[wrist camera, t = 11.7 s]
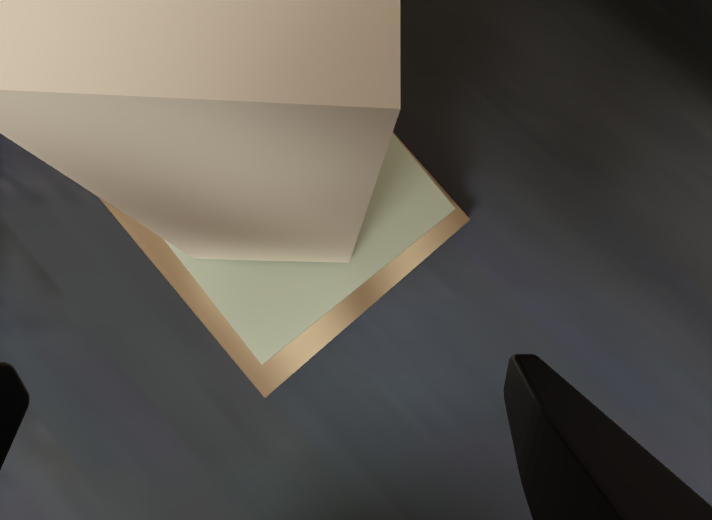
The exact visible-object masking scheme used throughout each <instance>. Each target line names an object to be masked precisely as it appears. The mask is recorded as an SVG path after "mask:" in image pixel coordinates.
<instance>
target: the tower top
mask: <svg viewBox="0 0 712 520" xmlns="http://www.w3.org/2000/svg"><path fill="white" fill-rule="evenodd" d="M455 209H456V208H455V207H454V206H453V205H452V204H451V202H450V201H449V200H448V199H447V198H446V196H445V195H444V194H443V193H442V192H441V190H440V189H439V188H438V187H437V186H436V184H435V183H434V182H433V181H432V180H431V178H430V177H429V176H428V175H427V174H426V172H425V171H424V170H423V169H422V168H421V166H420V165H419V164H418V163H417V162H416V160H415V159H414V158H413V157H412V155H411V154H410V153H409V152H408V151H407V149H406V148H405V147H404V146H403V145H402V143H401V142H400V141H399V140H398V139H397V137H396V136H395V135H394V134H393V133H392V136H391V139H390V142H389V145H388V148H387V151H386V154H385V157H384V160H383V163H382V166H381V169H380V172H379V175H378V178H377V181H376V184H375V187H374V190H373V193H372V196H371V199H370V202H369V205H368V208H367V211H366V214H365V217H364V220H363V223H362V226H361V229H360V232H359V235H358V238H357V241H356V244H355V247H354V250H353V253H352V256H351V259H350V262H349V263H338V262H299V261H260V260H221V259H194V258H192V257H191V256H189V255H187V254H186V253H184V252H183V251H181V250H180V249H178V248H177V247H175V246H174V245H172V244H171V243H169V242H167V241H166V240H164V241H165V242H166V243H167V244H168V246H169V247H170V248H171V249H172V251H173V252H174V253H175V255H176V256H177V257H178V258H179V260H180V261H181V262H182V264H183V265H184V266H185V267H186V269H187V270H188V271H189V273H190V274H191V275H192V276H193V278H194V279H195V280H196V281H197V283H198V284H199V285H200V287H201V288H202V289H203V290H204V292H205V293H206V294H207V296H208V297H209V298H210V299H211V301H212V302H213V303H214V305H215V306H216V307H217V308H218V310H219V311H220V312H221V313H222V315H223V316H224V317H225V319H226V320H227V321H228V322H229V324H230V325H231V326H232V328H233V329H234V330H235V331H236V333H237V334H238V335H239V337H240V338H241V339H242V340H243V342H244V343H245V344H246V345H247V347H248V348H249V349H250V351H251V352H252V353H253V354H254V356H255V357H256V358H257V360H258V361H259V362H260V363H261V365H262V364H264V363H265V362H267V361H268V360H269V359H271V358H272V357H273V356H274V355H275V354H277V353H278V352H279V351H280V350H282V349H283V348H284V347H285V346H287V345H288V344H289V343H290V342H292V341H293V340H294V339H295V338H297V337H298V336H299V335H300V334H302V333H303V332H304V331H305V330H306V329H308V328H309V327H310V326H311V325H313V324H314V323H315V322H316V321H318V320H319V319H320V318H321V317H323V316H324V315H325V314H326V313H328V312H329V311H330V310H331V309H333V308H334V307H335V306H336V305H337V304H339V303H340V302H341V301H342V300H344V299H345V298H346V297H347V296H349V295H350V294H351V293H352V292H354V291H355V290H356V289H357V288H359V287H360V286H361V285H362V284H364V283H365V282H366V281H367V280H368V279H370V278H371V277H372V276H373V275H375V274H376V273H377V272H378V271H380V270H381V269H382V268H383V267H385V266H386V265H387V264H388V263H390V262H391V261H392V260H393V259H395V258H396V257H397V256H398V255H399V254H401V253H402V252H403V251H404V250H406V249H407V248H408V247H409V246H411V245H412V244H413V243H414V242H416V241H417V240H418V239H419V238H421V237H422V236H423V235H424V234H426V233H427V232H428V231H429V230H430V229H432V228H433V227H434V226H435V225H437V224H438V223H439V222H440V221H442V220H443V219H444V218H445V217H446V216H448V215H449V214H450V213H451V212H452V211H453V210H455Z"/></svg>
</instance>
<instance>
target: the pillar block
mask: <svg viewBox="0 0 712 520" xmlns="http://www.w3.org/2000/svg"><path fill="white" fill-rule="evenodd" d="M400 109H401V88H400V0H0V133H1V134H3V135H4V136H6V137H7V138H9V139H10V140H12V141H13V142H15V143H16V144H18V145H20V146H21V147H23V148H24V149H26V150H27V151H29V152H30V153H32V154H33V155H35V156H36V157H38V158H40V159H41V160H43V161H44V162H46V163H47V164H49V165H50V166H52V167H53V168H55V169H56V170H58V171H60V172H61V173H63V174H64V175H66V176H67V177H69V178H70V179H72V180H73V181H75V182H77V183H78V184H80V185H81V186H83V187H84V188H86V189H87V190H89V191H90V192H92V193H93V194H95V195H97V196H98V197H100V198H101V199H103V200H104V201H106V202H107V203H109V204H110V205H112V206H113V207H115V208H117V209H118V210H120V211H121V212H123V213H124V214H126V215H127V216H129V217H130V218H132V219H134V220H135V221H137V222H138V223H140V224H141V225H143V226H144V227H146V228H147V229H149V230H150V231H152V232H154V233H155V234H157V235H158V236H160V237H161V238H163V239H164V240H166V241H167V242H169V243H171V244H172V245H174V246H175V247H177V248H178V249H180V250H181V251H183V252H184V253H186V254H187V255H189V256H191V257H192V258H194V259H221V260H260V261H299V262H338V263H349V262H350V259H351V256H352V253H353V250H354V247H355V244H356V241H357V238H358V235H359V232H360V229H361V226H362V223H363V220H364V217H365V214H366V211H367V208H368V205H369V202H370V199H371V196H372V193H373V190H374V187H375V184H376V181H377V178H378V175H379V172H380V169H381V166H382V163H383V160H384V157H385V154H386V151H387V148H388V145H389V142H390V139H391V136H392V133H393V130H394V127H395V124H396V121H397V118H398V115H399V112H400Z"/></svg>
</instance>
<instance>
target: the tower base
mask: <svg viewBox="0 0 712 520" xmlns="http://www.w3.org/2000/svg"><path fill="white" fill-rule="evenodd" d="M393 134H394V132H393ZM394 135H395V134H394ZM395 136H396V135H395ZM396 137H397V136H396ZM397 139H398V140H399V141H400V142H401V140H400V139H399V138H398V137H397ZM401 143H402V142H401ZM402 145H403V146H404V147H405V148H406V149H407V151H408V152H409V153H410V154H411V155H412V157H413V158H414V159H415V160H416V162H417V163H418V164H419V165H420V166H421V168H422V169H423V170H424V171H425V172H426V174H427V175H428V176H429V177H430V178H431V180H432V181H433V182H434V183H435V184H436V186H437V187H438V188H439V189H440V190H441V192H442V193H443V194H444V195H445V196H446V198H447V199H448V200H449V201H450V202H451V204H452V205H453V206H454V207H455V208H456V209H455V210H453V211H452V212H451V213H450V214H449V215H448V216H446V217H445V218H444V219H443V220H442V221H440V222H439V223H438V224H437V225H435V226H434V227H433V228H432V229H430V230H429V231H428V232H427V233H426V234H424V235H423V236H422V237H421V238H419V239H418V240H417V241H416V242H414V243H413V244H412V245H411V246H409V247H408V248H407V249H406V250H404V251H403V252H402V253H401V254H399V255H398V256H397V257H396V258H395V259H393V260H392V261H391V262H390V263H388V264H387V265H386V266H385V267H383V268H382V269H381V270H380V271H378V272H377V273H376V274H375V275H373V276H372V277H371V278H370V279H368V280H367V281H366V282H365V283H364V284H362V285H361V286H360V287H359V288H357V289H356V290H355V291H354V292H352V293H351V294H350V295H349V296H347V297H346V298H345V299H344V300H342V301H341V302H340V303H339V304H337V305H336V306H335V307H334V308H333V309H331V310H330V311H329V312H328V313H326V314H325V315H324V316H323V317H321V318H320V319H319V320H318V321H316V322H315V323H314V324H313V325H311V326H310V327H309V328H308V329H306V330H305V331H304V332H303V333H302V334H300V335H299V336H298V337H297V338H295V339H294V340H293V341H292V342H290V343H289V344H288V345H287V346H285V347H284V348H283V349H282V350H280V351H279V352H278V353H277V354H275V355H274V356H273V357H272V358H271V359H269V360H268V361H267V362H265V363H264V364H262V365H261V363H260V362H259V361H258V360H257V358H256V357H255V356H254V354H253V353H252V352H251V351H250V349H249V348H248V347H247V345H246V344H245V343H244V342H243V340H242V339H241V338H240V337H239V335H238V334H237V333H236V331H235V330H234V329H233V328H232V326H231V325H230V324H229V322H228V321H227V320H226V319H225V317H224V316H223V315H222V313H221V312H220V311H219V310H218V308H217V307H216V306H215V305H214V303H213V302H212V301H211V299H210V298H209V297H208V296H207V294H206V293H205V292H204V290H203V289H202V288H201V287H200V285H199V284H198V283H197V281H196V280H195V279H194V278H193V276H192V275H191V274H190V273H189V271H188V270H187V269H186V267H185V266H184V265H183V264H182V262H181V261H180V260H179V258H178V257H177V256H176V255H175V253H174V252H173V251H172V249H171V248H170V247H169V246H168V244H167V243H166V242H165V241H164V239H163V238H161V237H160V236H158V235H157V234H155V233H154V232H152V231H150V230H149V229H147V228H146V227H144V226H143V225H141V224H140V223H138V222H137V221H135V220H134V219H132V218H130V217H129V216H127V215H126V214H124V213H123V212H121V211H120V210H118V209H117V208H115V207H113V206H112V205H110V204H109V203H107V202H106V201H104V200H103V199H101V198H100V197H99V198H100V199H101V201H102V202H103V203H104V204H105V205H106V207H107V208H108V209H109V210H110V211H111V213H112V214H113V215H114V216H115V217H116V219H117V220H118V221H119V222H120V224H121V225H122V226H123V227H124V228H125V230H126V231H127V232H128V233H129V234H130V236H131V237H132V238H133V239H134V240H135V242H136V243H137V244H138V245H139V246H140V248H141V249H142V250H143V251H144V253H145V254H146V255H147V256H148V257H149V259H150V260H151V261H152V262H153V263H154V265H155V266H156V267H157V268H158V269H159V271H160V272H161V273H162V274H163V275H164V277H165V278H166V279H167V280H168V282H169V283H170V284H171V285H172V286H173V288H174V289H175V290H176V291H177V292H178V294H179V295H180V296H181V297H182V298H183V300H184V301H185V302H186V303H187V304H188V306H189V307H190V308H191V309H192V311H193V312H194V313H195V314H196V315H197V317H198V318H199V319H200V320H201V321H202V323H203V324H204V325H205V326H206V327H207V329H208V330H209V331H210V332H211V333H212V335H213V336H214V337H215V338H216V340H217V341H218V342H219V343H220V344H221V346H222V347H223V348H224V349H225V350H226V352H227V353H228V354H229V355H230V356H231V358H232V359H233V360H234V361H235V362H236V364H237V365H238V366H239V367H240V369H241V370H242V371H243V372H244V373H245V375H246V376H247V377H248V378H249V379H250V381H251V382H252V383H253V384H254V385H255V387H256V388H257V389H258V390H259V391H260V393H261V394H262V395H263V396H264V398H265V397H266V396H268V395H269V394H270V393H271V392H272V391H273V390H275V389H276V388H277V387H278V386H279V385H280V384H281V383H283V382H284V381H285V380H286V379H287V378H288V377H289V376H291V375H292V374H293V373H294V372H295V371H296V370H298V369H299V368H300V367H301V366H302V365H303V364H304V363H306V362H307V361H308V360H309V359H310V358H311V357H312V356H314V355H315V354H316V353H317V352H318V351H319V350H321V349H322V348H323V347H324V346H325V345H326V344H327V343H329V342H330V341H331V340H332V339H333V338H334V337H336V336H337V335H338V334H339V333H340V332H341V331H342V330H344V329H345V328H346V327H347V326H348V325H349V324H350V323H352V322H353V321H354V320H355V319H356V318H357V317H359V316H360V315H361V314H362V313H363V312H364V311H365V310H367V309H368V308H369V307H370V306H371V305H372V304H374V303H375V302H376V301H377V300H378V299H379V298H380V297H382V296H383V295H384V294H385V293H386V292H387V291H388V290H390V289H391V288H392V287H393V286H394V285H395V284H397V283H398V282H399V281H400V280H401V279H402V278H403V277H405V276H406V275H407V274H408V273H409V272H410V271H412V270H413V269H414V268H415V267H416V266H417V265H418V264H420V263H421V262H422V261H423V260H424V259H425V258H426V257H428V256H429V255H430V254H431V253H432V252H433V251H435V250H436V249H437V248H438V247H439V246H440V245H441V244H443V243H444V242H445V241H446V240H447V239H448V238H449V237H451V236H452V235H453V234H454V233H455V232H456V231H458V230H459V229H460V228H461V227H462V226H463V225H464V224H466V223H467V222H468V221H469V220H470V219H469V218H468V217H467V215H466V214H465V213H464V212H463V211H462V210H461V209H460V208H459V206H458V205H457V204H456V203H455V202H454V201H453V200H452V198H451V197H450V196H449V195H448V194H447V193H446V192H445V190H444V189H443V188H442V187H441V186H440V185H439V184H438V183H437V181H436V180H435V179H434V178H433V177H432V176H431V175H430V173H429V172H428V171H427V170H426V169H425V168H424V167H423V165H422V164H421V163H420V162H419V161H418V160H417V159H416V158H415V156H414V155H413V154H412V153H411V152H410V151H409V150H408V148H407V147H406V146H405V145H404V144H403V143H402Z"/></svg>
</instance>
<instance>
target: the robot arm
mask: <svg viewBox="0 0 712 520" xmlns="http://www.w3.org/2000/svg"><path fill="white" fill-rule="evenodd" d="M504 400H505V405H506V410H507V415H508V420H509V425H510V430H511V435H512V440H513V444H514V449H515V454H516V459H517V464H518V469H519V473H520V478H521V482H522V486H523V489H524V493H525V496H526V499H527V503H528V506H529V509H530V512H531V515H532V518H533V520H712V506H711V505H709V504H708V503H707V502H706V501H705V500H704V499H702V498H701V497H700V496H699V495H698V494H697V493H695V492H694V491H693V490H692V489H691V488H690V487H689V486H687V485H686V484H685V483H684V482H683V481H682V480H680V479H679V478H678V477H677V476H676V475H675V474H673V473H672V472H671V471H670V470H669V469H668V468H667V467H665V466H664V465H663V464H662V463H661V462H660V461H658V460H657V459H656V458H655V457H654V456H653V455H651V454H650V453H649V452H648V451H647V450H646V449H644V448H643V447H642V446H641V445H640V444H639V443H638V442H636V441H635V440H634V439H633V438H632V437H631V436H629V435H628V434H627V433H626V432H625V431H624V430H622V429H621V428H620V427H619V426H618V425H617V424H616V423H614V422H613V421H612V420H611V419H610V418H609V417H607V416H606V415H605V414H604V413H603V412H602V411H600V410H599V409H598V408H597V407H596V406H595V405H593V404H592V403H591V402H590V401H589V400H588V399H587V398H585V397H584V396H583V395H582V394H581V393H580V392H578V391H577V390H576V389H575V388H574V387H573V386H571V385H570V384H569V383H568V382H567V381H566V380H565V379H563V378H562V377H561V376H560V375H559V374H558V373H556V372H555V371H554V370H553V369H552V368H551V367H549V366H548V365H547V364H546V363H545V362H544V361H543V360H541V359H540V358H539V357H538V356H536V355H533V354H515V355H512V356H511V358H510V359H509V364H508V369H507V374H506V379H505V385H504ZM28 405H29V393H28V391H27V389H26V388H25V386H24V384H23V382H22V380H21V379H20V377H19V375H18V373H17V372H16V370H15V368H14V367H13V366H12V365H11V364H9V363H6V362H0V469H1V467H2V465H3V463H4V460H5V458H6V456H7V454H8V451H9V449H10V447H11V445H12V442H13V440H14V438H15V435H16V433H17V431H18V429H19V426H20V424H21V422H22V420H23V417H24V415H25V413H26V410H27V408H28Z"/></svg>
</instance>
